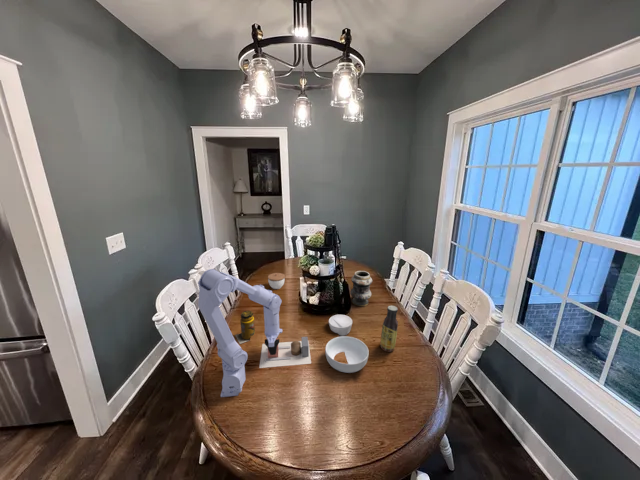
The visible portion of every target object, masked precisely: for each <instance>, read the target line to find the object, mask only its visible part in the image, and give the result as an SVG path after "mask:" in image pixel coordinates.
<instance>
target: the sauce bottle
mask: <svg viewBox="0 0 640 480" xmlns="http://www.w3.org/2000/svg"><path fill="white" fill-rule="evenodd" d="M386 308H387V309H386V310H387V311H386V312H387V313H386V316H385V318H384V320H383V322H382V328H381V334H380V335H381V336H380V348H381V349H382V351H385V352H387V353H390V352H393V351H394V350H395V348H396V341H397V334H398V326H399V321H398V318H397V313H398V310H399V309H398V306H395V305H388V306H387V307H386Z"/></svg>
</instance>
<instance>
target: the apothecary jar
mask: <svg viewBox="0 0 640 480" xmlns="http://www.w3.org/2000/svg"><path fill="white" fill-rule="evenodd" d="M350 281H351V283H353V284H352V288H351V290H350V292H349V293H350V296H351V297H352V300H351V303H352V304H353V305H354V306H358V307H366V306H368V305H369V303H370V302H369V299H370V298H371V297H372V291H371V290H370V287H371V286H370V285H372V283H373V279H372V277H371V275H370V273H369V272H368V271H365V270H357V271H355V272H354V275H352V276H351V280H350Z"/></svg>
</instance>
